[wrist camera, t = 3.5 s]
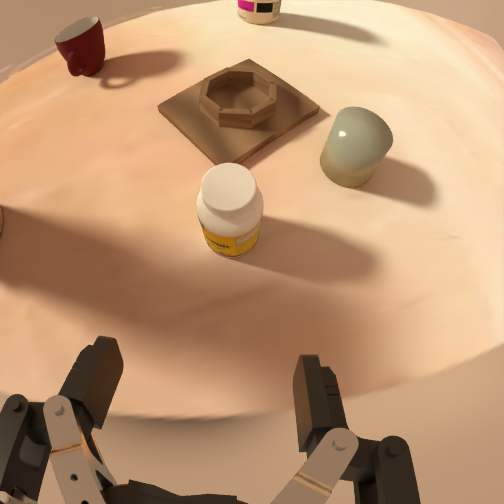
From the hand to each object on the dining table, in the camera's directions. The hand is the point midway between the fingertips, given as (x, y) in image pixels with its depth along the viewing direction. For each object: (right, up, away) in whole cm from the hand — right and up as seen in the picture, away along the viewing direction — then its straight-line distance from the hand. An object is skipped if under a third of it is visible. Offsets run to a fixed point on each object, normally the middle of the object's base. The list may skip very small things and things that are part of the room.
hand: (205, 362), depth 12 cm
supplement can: (+3, +52, +32) cm, 61 cm away
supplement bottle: (0, +6, +18) cm, 19 cm away
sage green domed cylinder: (+13, +15, +21) cm, 29 cm away
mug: (-26, +36, +26) cm, 51 cm away
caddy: (0, +23, +23) cm, 33 cm away
